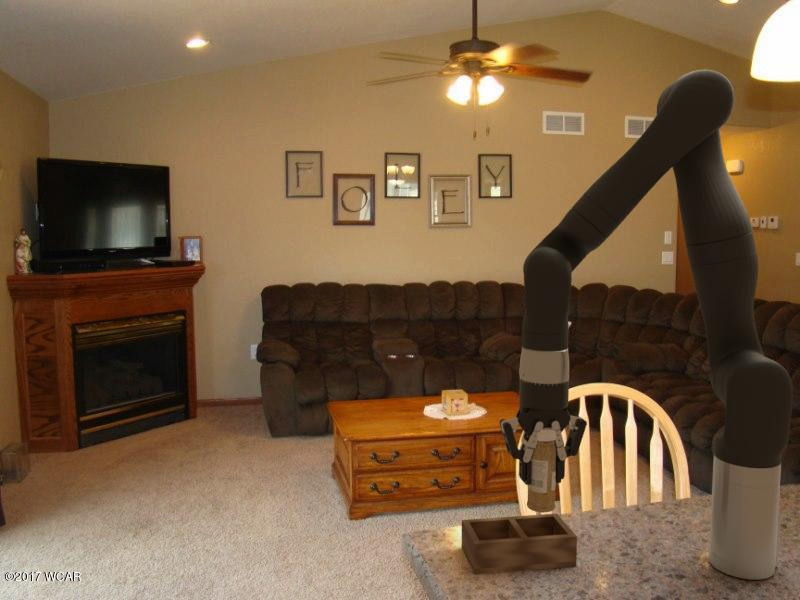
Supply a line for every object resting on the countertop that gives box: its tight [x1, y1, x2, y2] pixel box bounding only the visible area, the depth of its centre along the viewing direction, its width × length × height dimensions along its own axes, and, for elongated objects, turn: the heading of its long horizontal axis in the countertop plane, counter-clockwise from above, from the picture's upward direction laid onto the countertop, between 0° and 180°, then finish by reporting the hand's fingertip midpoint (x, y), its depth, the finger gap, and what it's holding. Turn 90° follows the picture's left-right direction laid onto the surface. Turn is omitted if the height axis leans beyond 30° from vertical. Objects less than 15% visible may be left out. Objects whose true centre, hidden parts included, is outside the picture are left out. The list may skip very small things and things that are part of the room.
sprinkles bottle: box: [526, 427, 557, 514], centre depth 111 cm, size 5×5×13 cm
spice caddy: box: [461, 513, 578, 575], centre depth 112 cm, size 16×9×5 cm, turn 98°
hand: (541, 481), depth 112 cm, fingers closed on sprinkles bottle, 4 cm apart
